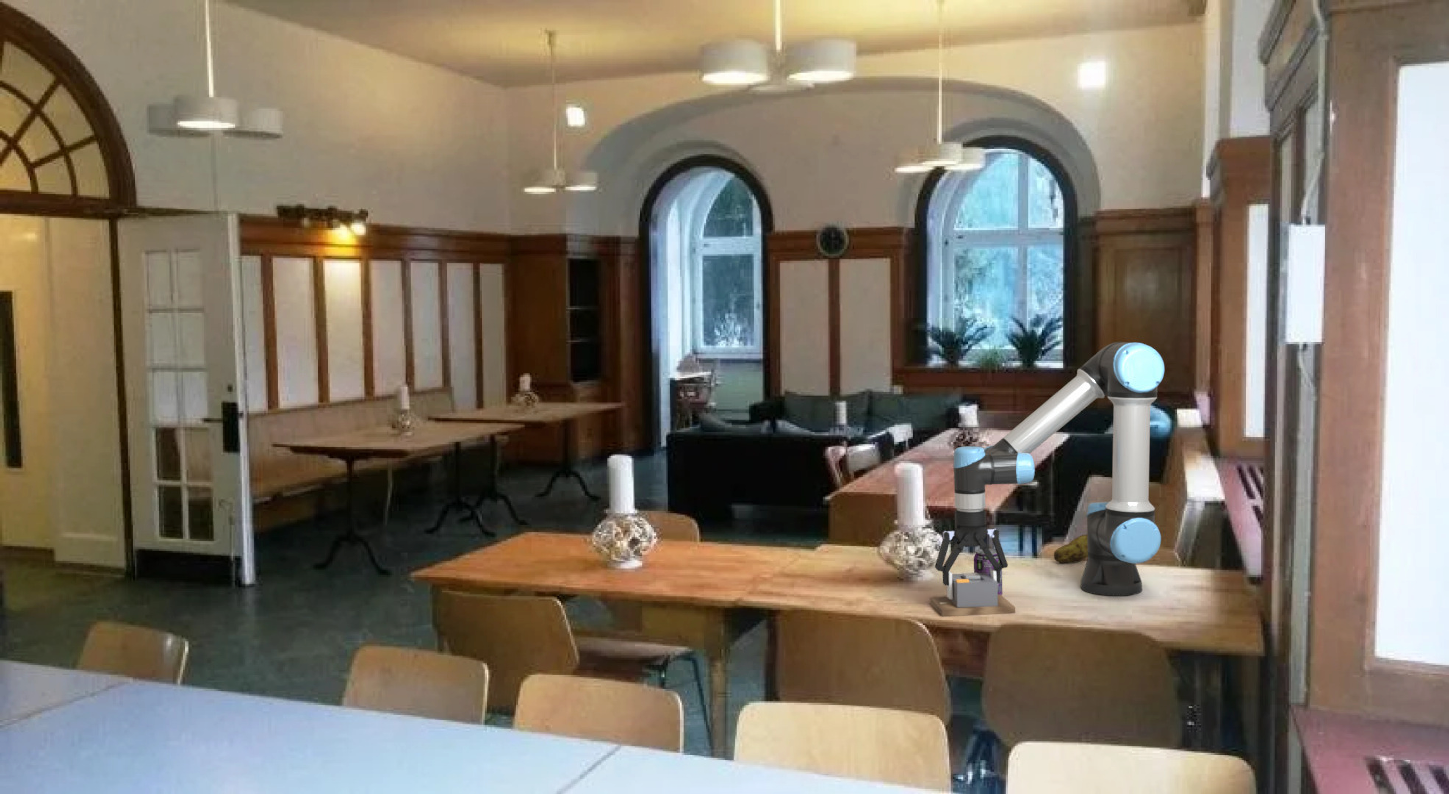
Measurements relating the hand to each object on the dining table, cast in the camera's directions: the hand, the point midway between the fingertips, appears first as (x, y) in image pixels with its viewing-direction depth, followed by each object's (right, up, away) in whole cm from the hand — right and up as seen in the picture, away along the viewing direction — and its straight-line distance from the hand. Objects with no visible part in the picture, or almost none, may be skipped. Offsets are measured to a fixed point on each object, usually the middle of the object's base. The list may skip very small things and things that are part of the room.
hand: (971, 597), depth 298 cm
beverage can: (+7, -2, +11) cm, 13 cm away
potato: (+40, +2, +47) cm, 61 cm away
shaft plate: (0, -3, 0) cm, 3 cm away
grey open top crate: (0, -1, 0) cm, 1 cm away
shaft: (0, -1, 0) cm, 1 cm away
